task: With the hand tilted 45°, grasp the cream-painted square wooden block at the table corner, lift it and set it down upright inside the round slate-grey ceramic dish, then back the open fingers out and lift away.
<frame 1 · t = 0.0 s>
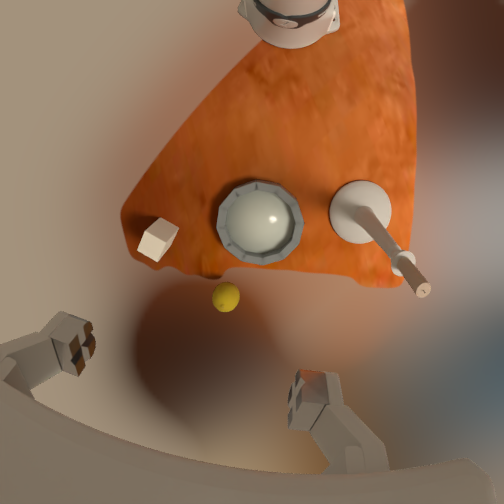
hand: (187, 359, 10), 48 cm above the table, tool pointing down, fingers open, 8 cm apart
block: (165, 231, 61), on the table
lemon: (228, 286, 65), on the table
candlestick: (360, 211, 56), on the table
dish: (260, 221, 58), on the table
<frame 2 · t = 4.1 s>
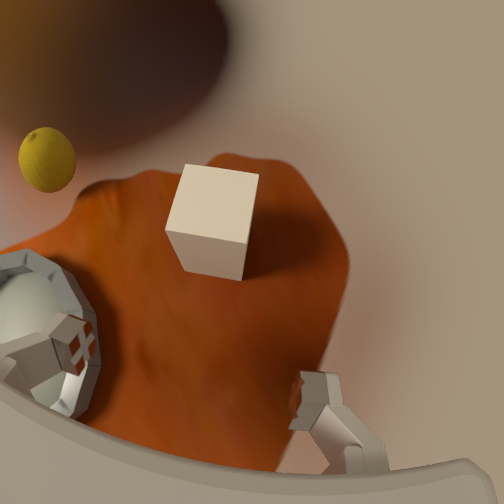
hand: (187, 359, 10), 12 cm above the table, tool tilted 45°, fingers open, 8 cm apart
block: (218, 249, 25), on the table
lemon: (65, 184, 26), on the table
dish: (27, 344, 20), on the table
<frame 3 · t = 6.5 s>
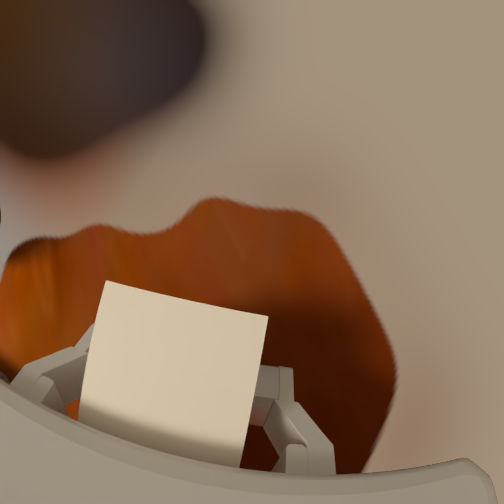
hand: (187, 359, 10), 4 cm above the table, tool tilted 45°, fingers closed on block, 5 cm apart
block: (198, 370, 14), on the table, touching gripper
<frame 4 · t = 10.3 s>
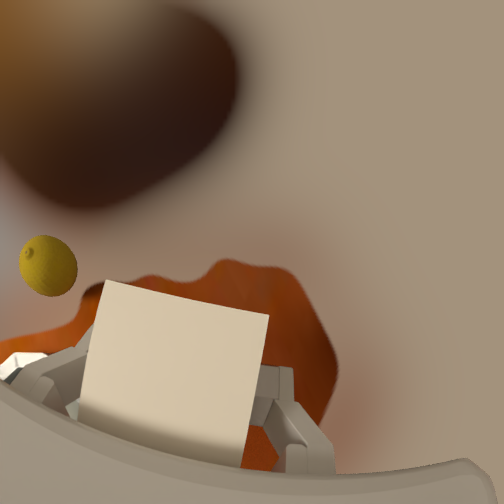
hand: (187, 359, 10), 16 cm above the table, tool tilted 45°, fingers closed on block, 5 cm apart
block: (198, 370, 14), point 12 cm above the table, touching gripper
lemon: (68, 278, 27), on the table
dish: (52, 427, 21), on the table
when the fingers open (7 cm above the table, at t = 14.0 s): block drops 2 cm, resting on dish.
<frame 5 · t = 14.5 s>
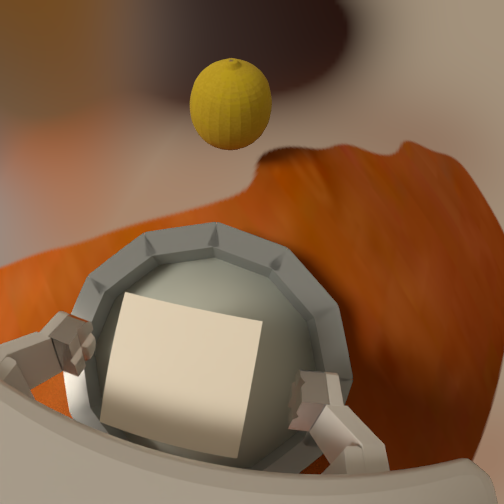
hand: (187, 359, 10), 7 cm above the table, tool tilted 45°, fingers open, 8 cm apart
block: (201, 368, 16), point 1 cm above the table, touching dish
lemon: (230, 144, 23), on the table
dish: (202, 368, 17), on the table
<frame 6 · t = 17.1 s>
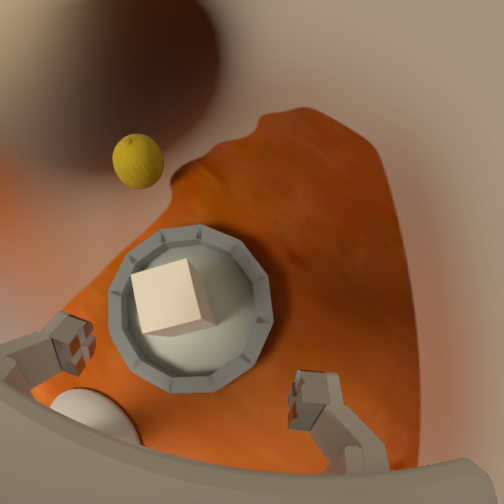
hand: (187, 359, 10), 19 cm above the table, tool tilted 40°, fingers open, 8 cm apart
block: (188, 309, 29), point 1 cm above the table, touching dish
lemon: (150, 181, 34), on the table
candlestick: (92, 440, 25), on the table
dish: (190, 310, 29), on the table
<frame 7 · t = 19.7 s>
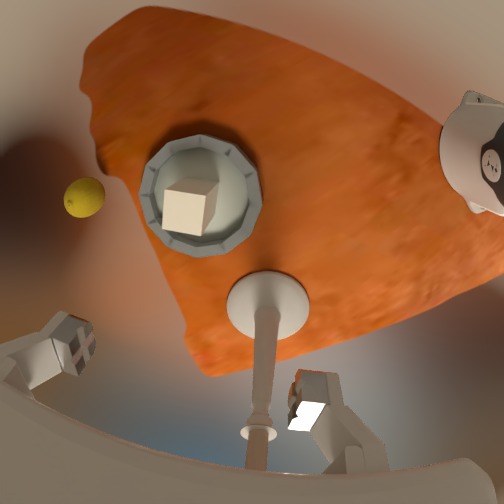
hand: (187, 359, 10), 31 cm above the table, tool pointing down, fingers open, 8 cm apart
block: (200, 195, 39), point 1 cm above the table, touching dish
lemon: (99, 190, 41), on the table
candlestick: (268, 306, 47), on the table
dish: (202, 194, 40), on the table
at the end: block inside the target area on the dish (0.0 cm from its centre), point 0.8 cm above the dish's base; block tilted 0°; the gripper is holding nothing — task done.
